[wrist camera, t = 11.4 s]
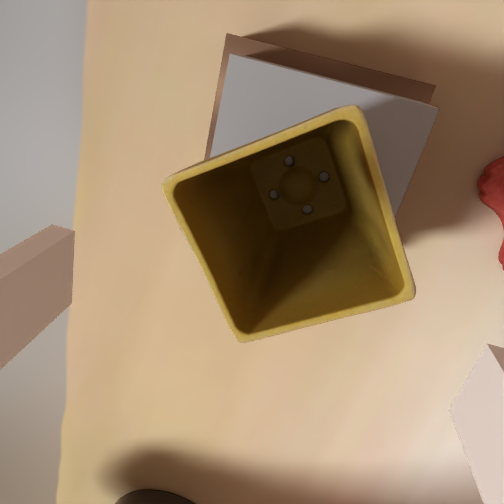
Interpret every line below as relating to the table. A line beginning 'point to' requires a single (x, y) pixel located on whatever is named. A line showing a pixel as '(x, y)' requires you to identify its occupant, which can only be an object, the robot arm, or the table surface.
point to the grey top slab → (315, 103)
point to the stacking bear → (494, 192)
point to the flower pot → (294, 227)
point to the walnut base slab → (315, 66)
